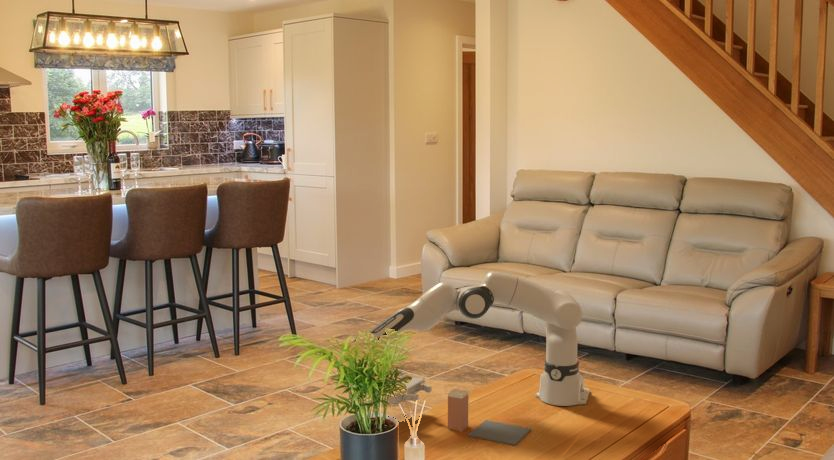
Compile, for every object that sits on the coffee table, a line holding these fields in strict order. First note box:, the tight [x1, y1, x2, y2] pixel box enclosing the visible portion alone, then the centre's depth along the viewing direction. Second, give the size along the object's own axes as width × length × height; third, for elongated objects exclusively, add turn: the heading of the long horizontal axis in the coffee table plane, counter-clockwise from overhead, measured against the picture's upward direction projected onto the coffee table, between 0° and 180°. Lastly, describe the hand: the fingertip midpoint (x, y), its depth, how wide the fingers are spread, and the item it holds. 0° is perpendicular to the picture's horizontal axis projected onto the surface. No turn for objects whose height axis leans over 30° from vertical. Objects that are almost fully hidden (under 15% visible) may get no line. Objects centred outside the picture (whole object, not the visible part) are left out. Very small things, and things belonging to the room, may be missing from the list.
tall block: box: [447, 388, 469, 432], centre depth 259 cm, size 5×5×12 cm
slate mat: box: [467, 419, 532, 446], centre depth 255 cm, size 14×16×1 cm
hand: (424, 393), depth 264 cm, fingers open, 8 cm apart
